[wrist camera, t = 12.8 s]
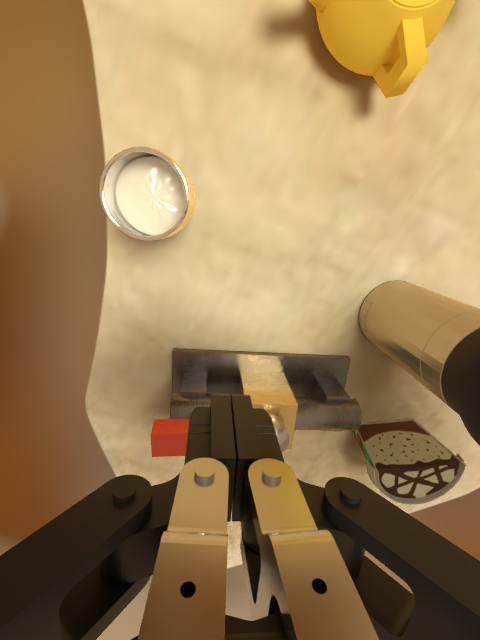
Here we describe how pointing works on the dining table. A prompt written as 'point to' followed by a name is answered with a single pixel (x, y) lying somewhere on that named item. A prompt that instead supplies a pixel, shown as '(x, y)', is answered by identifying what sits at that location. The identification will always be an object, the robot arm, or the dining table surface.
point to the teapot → (382, 36)
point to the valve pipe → (268, 386)
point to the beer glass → (146, 194)
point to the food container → (408, 461)
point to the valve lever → (174, 433)
